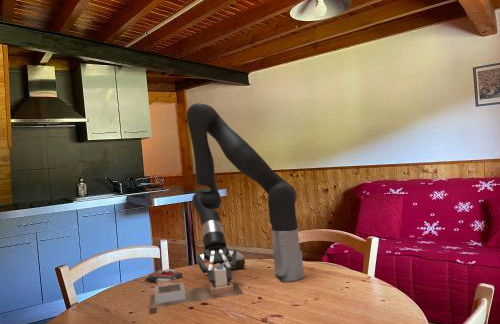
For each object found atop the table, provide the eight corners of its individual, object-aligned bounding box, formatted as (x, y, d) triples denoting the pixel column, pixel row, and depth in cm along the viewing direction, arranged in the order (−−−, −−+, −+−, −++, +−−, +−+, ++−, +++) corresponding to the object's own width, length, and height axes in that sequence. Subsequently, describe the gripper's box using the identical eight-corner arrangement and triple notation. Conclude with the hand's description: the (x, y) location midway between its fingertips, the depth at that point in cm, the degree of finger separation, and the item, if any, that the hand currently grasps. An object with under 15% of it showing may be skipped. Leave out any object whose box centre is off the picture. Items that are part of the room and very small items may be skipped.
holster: (230, 285, 125) (229, 279, 125) (234, 292, 118) (233, 285, 118) (209, 288, 124) (208, 282, 124) (211, 295, 117) (211, 289, 117)
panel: (236, 286, 128) (236, 282, 128) (243, 298, 117) (243, 293, 117) (151, 299, 122) (150, 294, 122) (150, 313, 110) (149, 308, 110)
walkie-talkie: (141, 285, 139) (186, 289, 131) (140, 273, 139) (185, 276, 131) (156, 277, 147) (200, 281, 139) (155, 266, 147) (199, 269, 139)
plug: (225, 288, 123) (223, 263, 123) (227, 291, 120) (225, 266, 120) (215, 289, 122) (213, 264, 122) (216, 293, 119) (214, 267, 119)
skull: (210, 272, 144) (216, 248, 151) (221, 284, 151) (226, 260, 158) (239, 272, 140) (244, 247, 146) (249, 284, 147) (253, 260, 153)
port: (183, 291, 123) (183, 281, 123) (185, 300, 114) (184, 290, 114) (155, 295, 121) (154, 285, 121) (155, 305, 112) (154, 294, 112)
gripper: (192, 232, 127) (198, 279, 115) (234, 227, 130) (244, 272, 118) (192, 245, 132) (198, 291, 120) (232, 240, 135) (242, 284, 123)
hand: (221, 281), depth 119 cm, fingers open, 4 cm apart
